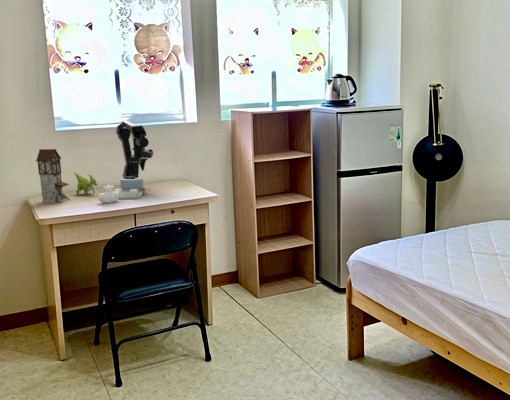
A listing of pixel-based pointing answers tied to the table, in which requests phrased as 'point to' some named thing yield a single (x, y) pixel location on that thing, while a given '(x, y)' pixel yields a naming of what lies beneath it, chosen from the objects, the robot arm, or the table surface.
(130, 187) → the long blue block
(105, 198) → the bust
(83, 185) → the toy
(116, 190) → the tile
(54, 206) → the table surface
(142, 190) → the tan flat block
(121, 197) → the tray
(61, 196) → the model building
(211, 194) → the table surface
